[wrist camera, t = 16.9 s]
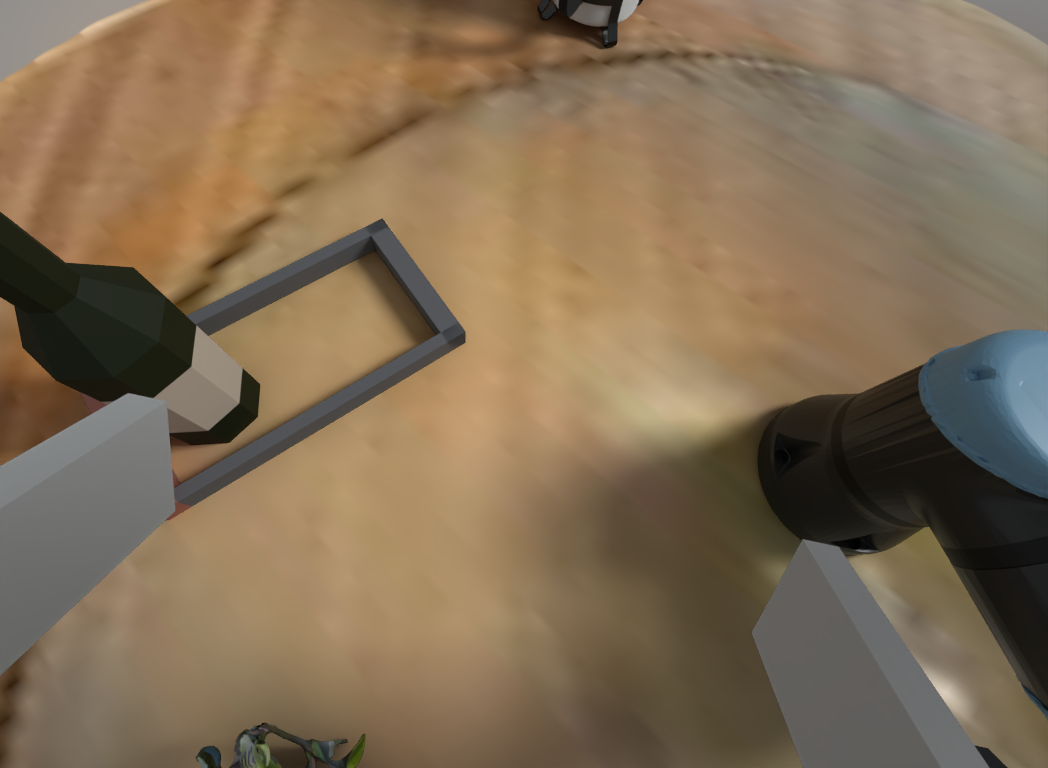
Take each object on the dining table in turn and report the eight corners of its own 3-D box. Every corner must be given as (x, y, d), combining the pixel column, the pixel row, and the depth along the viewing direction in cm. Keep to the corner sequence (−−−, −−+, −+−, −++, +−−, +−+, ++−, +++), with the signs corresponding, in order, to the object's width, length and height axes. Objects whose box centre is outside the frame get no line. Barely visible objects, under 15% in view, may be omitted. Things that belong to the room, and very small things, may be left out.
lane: (385, 233, 57) (380, 208, 53) (465, 342, 53) (465, 324, 50) (96, 380, 49) (65, 363, 45) (168, 520, 45) (142, 514, 42)
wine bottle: (181, 463, 47) (-247, 293, 19) (154, 382, 49) (-266, 123, 21) (275, 422, 49) (15, 215, 21) (245, 347, 51) (-27, 67, 23)
